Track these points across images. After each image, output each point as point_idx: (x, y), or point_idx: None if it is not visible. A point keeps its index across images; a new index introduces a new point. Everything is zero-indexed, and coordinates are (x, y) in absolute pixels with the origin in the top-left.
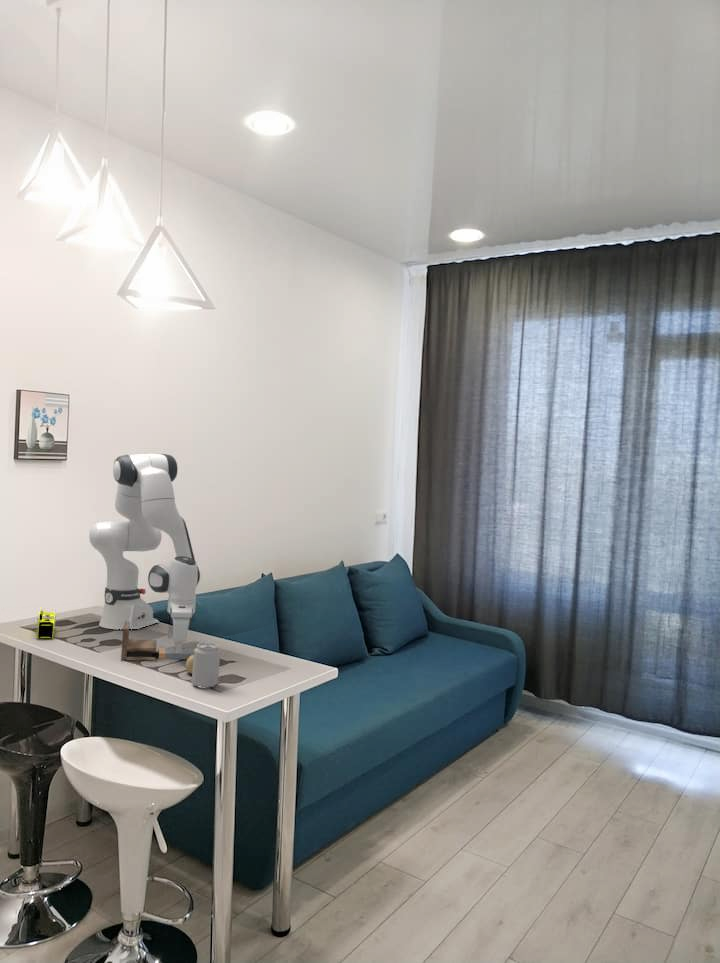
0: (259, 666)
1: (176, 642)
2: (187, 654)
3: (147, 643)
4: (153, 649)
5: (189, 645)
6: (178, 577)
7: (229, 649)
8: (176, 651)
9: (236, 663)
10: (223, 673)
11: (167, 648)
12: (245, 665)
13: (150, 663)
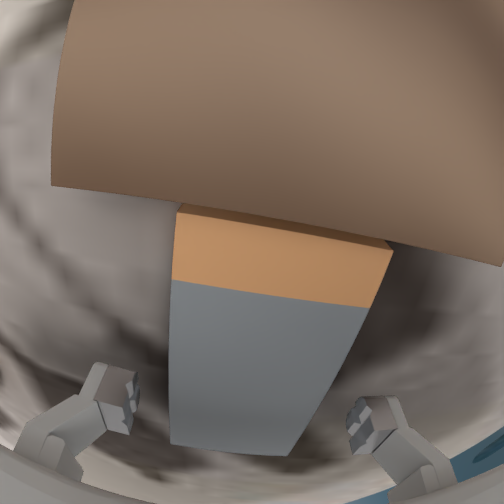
0: (114, 489)
1: (24, 430)
2: (170, 409)
3: (374, 76)
4: (61, 142)
5: (454, 403)
6: None
7: (327, 489)
8: (92, 371)
9: (132, 475)
10: (7, 409)
11: (362, 322)
12: (115, 479)
13: (49, 108)
